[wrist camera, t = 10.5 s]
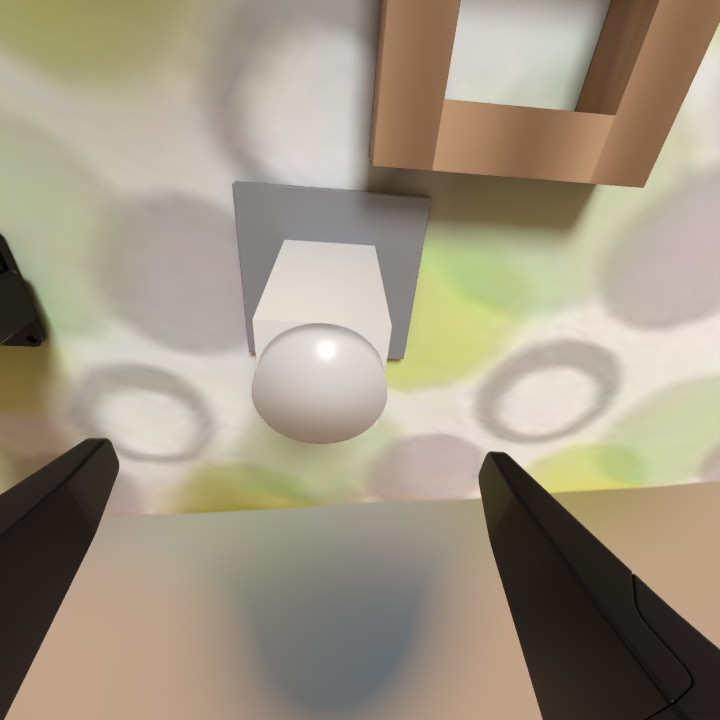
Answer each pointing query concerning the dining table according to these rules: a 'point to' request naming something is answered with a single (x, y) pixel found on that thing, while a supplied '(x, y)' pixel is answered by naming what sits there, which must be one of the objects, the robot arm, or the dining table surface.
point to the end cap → (322, 342)
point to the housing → (536, 125)
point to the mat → (332, 239)
